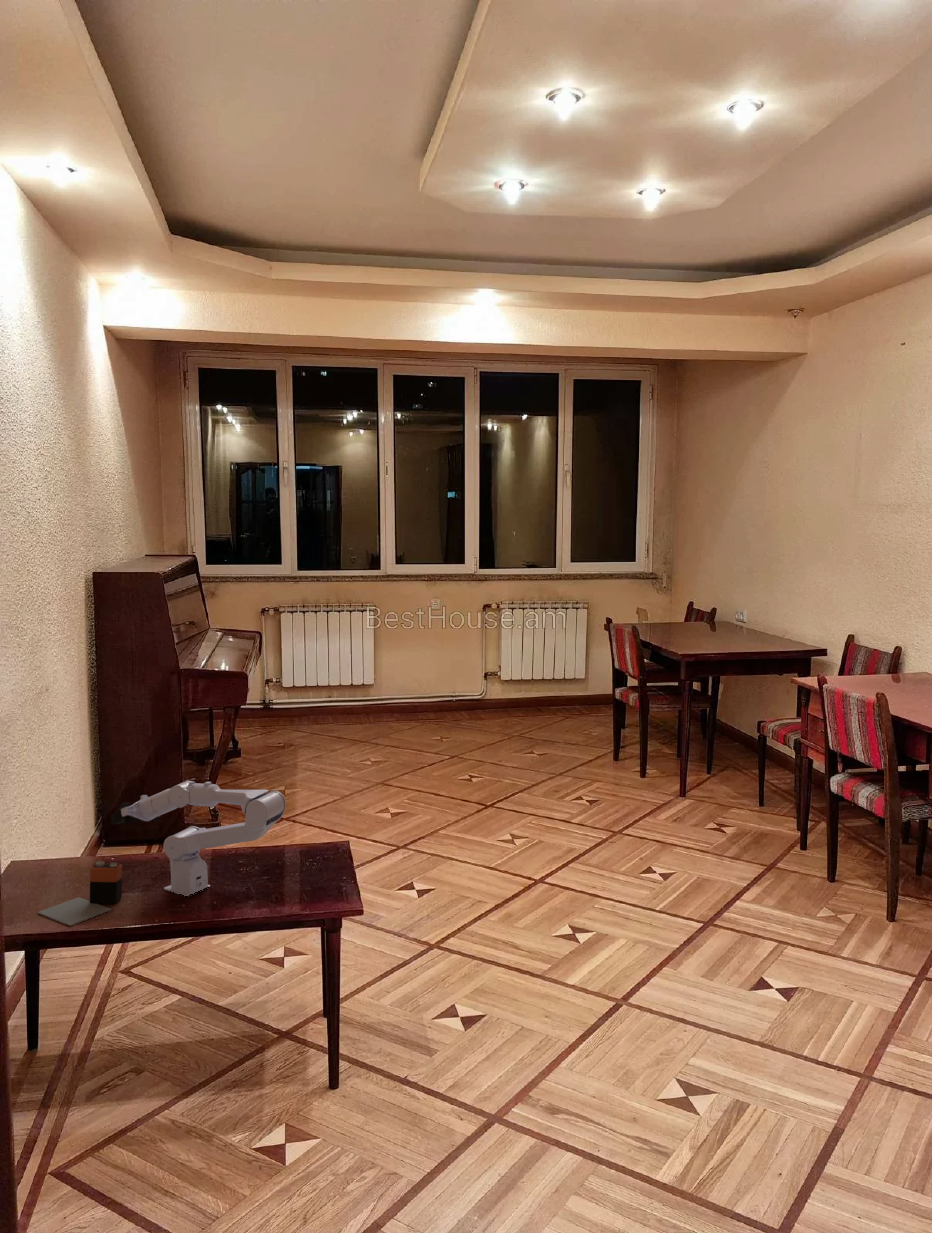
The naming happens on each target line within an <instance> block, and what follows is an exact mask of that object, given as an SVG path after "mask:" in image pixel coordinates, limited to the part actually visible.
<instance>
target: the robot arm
mask: <svg viewBox="0 0 932 1233" xmlns="http://www.w3.org/2000/svg"><path fill="white" fill-rule="evenodd" d="M219 803H221V804H228V805H234V806H240V807H241V811H242V814H244V815H245V818H244V819H245V820H244V822H238V823H234V824H226V825H221V826H216V827H209V828H206V827H198V826H196V825H191V826H188V827H187V828H186V829H183V830H181V831H179V832H177V833H175V834H172V835H170V836H168V837H166V838H165V840H164V841H163V847H162V848H163V851H164V853H165V855H166V857H167V858H168V860H169V861H170V863H169V864H170V885H168V886H164V888H163V889H164V891H168V892H170V891H171V893H173V892H174V894H177V895H179V894H182V895H184V896H183V897H185V896H188V897H190V896H191V895H190V894H193V895H195V894H196V893H195V892H198V891H200V890H202V891H204V890H203V889H204V888H206V887H210V886H211V885H210V884H209V882H208V879H209V878H208V877H209V876H208V874H209V873H208V865H207V863H206V861H205V860H204V859H202V858H201V856H200V854H199V853H200V851H201V850H204V849H205V850H206V849H211V848H215V847H224V846H227V845H228V846H229V845H234V844H240V843H247V842H248V843H249V842H254V841H256V840H259V839H261V838H262V837H264V836H265V835H266V834H267V833H268V832H269V830H271V829H272V827H273V826H274V825H275V824H276V823H277V822H278V821H279V820H280V819H281V818H283V817H284V814H285V811H286V808H287V800H286V798H285V796H284V794H283V793H281V791H278V790H272V791H269V789H265V788H264V789H263V788H262V789H227V788H226V789H222V788H221V787H220V786H219V785H218V784H213V783H212V781H206V782H203V783H197V782H196V781H194V780H188V779H187V780H185V781H182V782H180V783H179V784H176V785H174V786H171V787H170V788H167V789H164V790H162V791H161V792H158V793H155V794H153V795H151V796H148V795H147V794H142V795H140V799H139V800H138V801H136V802H134V803H133V804H132V805H130V802H123V803H121V804H120V806H119V808H118V809H117V810H116V812H114V813H113V814H112V815H111V816H110V817H109V818H110V824H111V825H118V824H132V822H133V823H134V824H135V823H141V822H159V821H160V819H161V816H162V815H164V814H167V813H169V812H172V811H174V810H176V809H178V808H180V809H181V808H184V807H185V806H186V805H190V806H199V807H212V808H213V807H216V806H217V805H218V804H219ZM131 817H132V818H131ZM210 888H211V887H210ZM200 892H201V891H200ZM194 893H195V894H194ZM198 893H199V892H198ZM182 895H181V896H182ZM189 895H190V896H189Z"/></svg>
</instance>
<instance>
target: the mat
mask: <svg viewBox="0 0 932 1233" xmlns="http://www.w3.org/2000/svg"><path fill="white" fill-rule="evenodd" d="M108 911H109V912H111V911H112V909H111V908H110V907H106V906H104V905H102V904H100V903H90V900H87V899H85V898H83V897H79V896H78V897H75V898H72V899H70V900H66V901H64V902H61V903H59V904H56V905H53V906H50V907H48V908H45V909H42V910H40V911H37V914H38V915H40V916H43V917H45V918H48V919H50V920H52V921H55V922H57V923H60V924H62V923H63V925H65V924H67V925H69V926H68V927H70V926H71V925H73V924H76V925H78V924H77V923H79V922H80V921H84V922H86V921H88V920H87V919H88V918H91V919H94V918H96V917H97V916H96V915H99V914H101V915H104V914H106V913H105V912H107V913H109V912H108ZM103 913H104V914H103ZM95 916H96V917H95ZM99 916H100V915H99ZM93 917H94V918H93ZM85 920H86V921H85ZM79 924H80V923H79ZM67 925H66V926H67ZM71 927H72V926H71Z"/></svg>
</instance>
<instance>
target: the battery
mask: <svg viewBox="0 0 932 1233" xmlns="http://www.w3.org/2000/svg"><path fill="white" fill-rule="evenodd" d="M89 872H90V873H89V901H90V903H96V904H110V905H112V904H113V905H115V904H116V903H118V902H119V901H120V900H121V899H122V897H123V864H121V863H117V861H115V862H114V861H113V862H110V863H105V861H103V860H100V861H99V860H98V861H96V862H95V865H93V866H91V868H90V871H89Z"/></svg>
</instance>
